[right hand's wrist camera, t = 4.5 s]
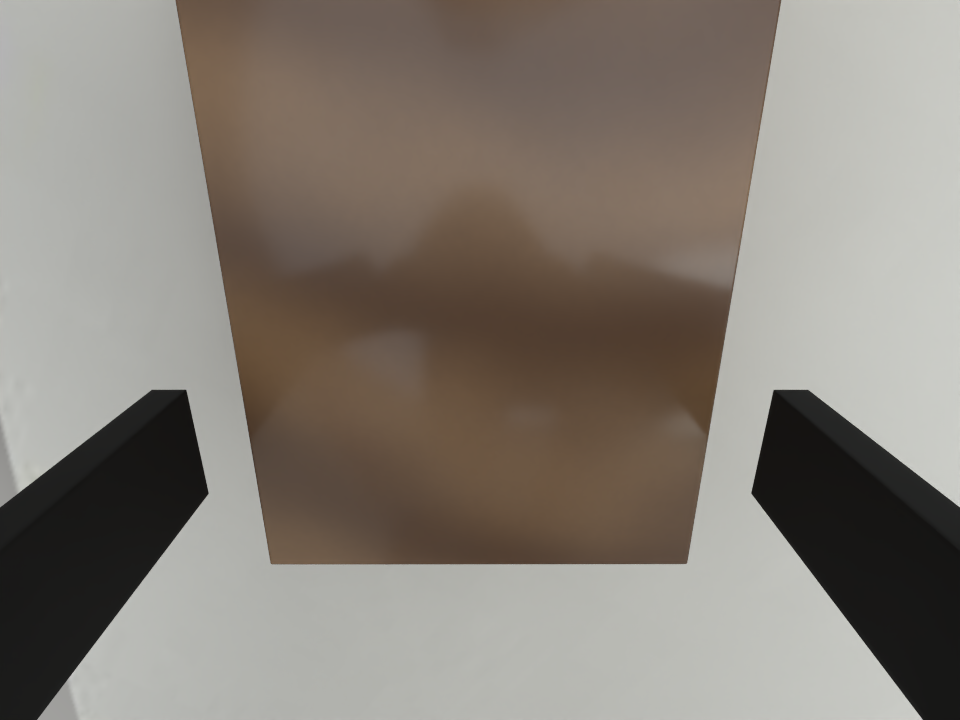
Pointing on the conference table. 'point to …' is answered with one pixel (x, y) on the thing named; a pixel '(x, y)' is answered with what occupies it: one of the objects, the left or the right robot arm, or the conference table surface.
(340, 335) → the wooden grain block
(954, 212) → the conference table surface
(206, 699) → the conference table surface
